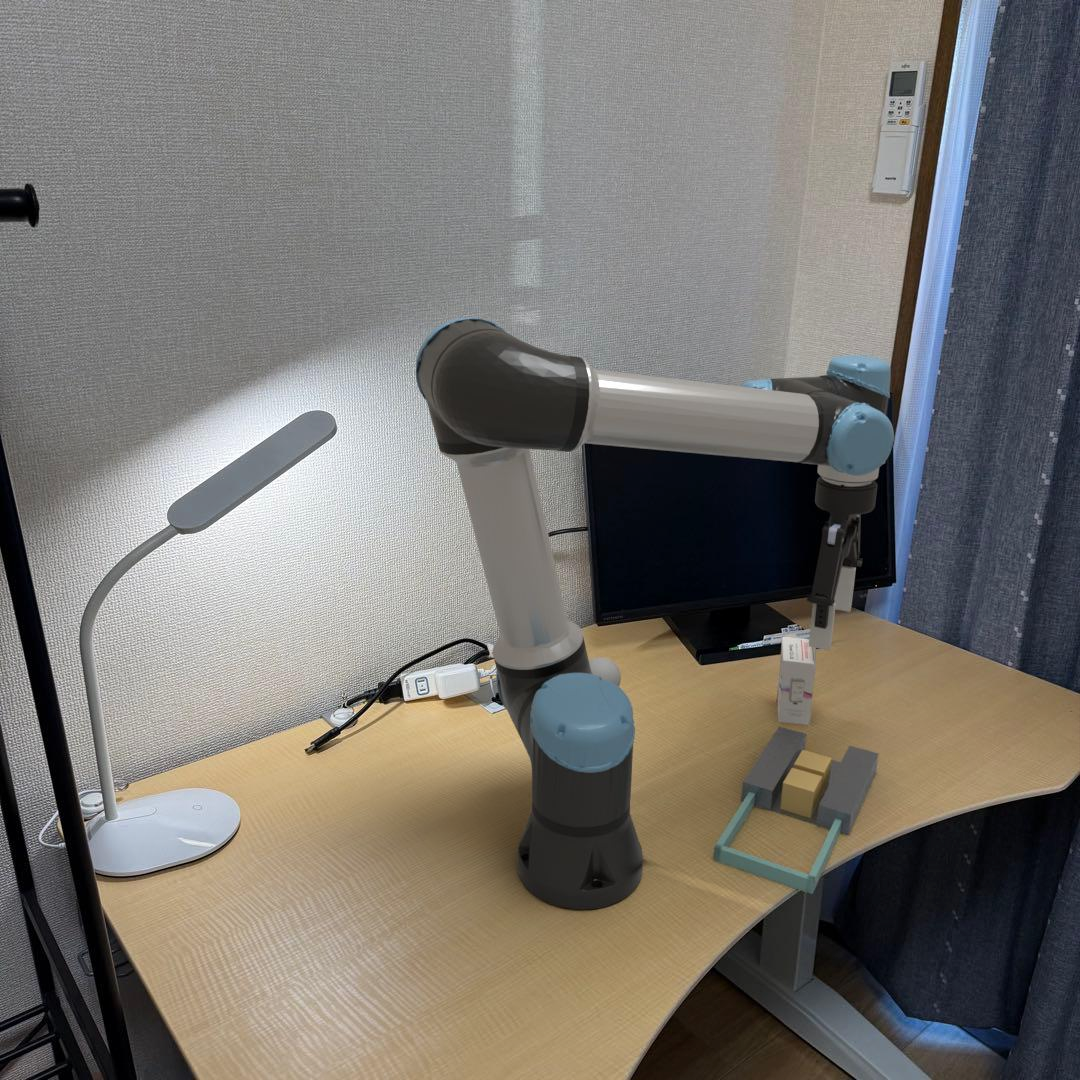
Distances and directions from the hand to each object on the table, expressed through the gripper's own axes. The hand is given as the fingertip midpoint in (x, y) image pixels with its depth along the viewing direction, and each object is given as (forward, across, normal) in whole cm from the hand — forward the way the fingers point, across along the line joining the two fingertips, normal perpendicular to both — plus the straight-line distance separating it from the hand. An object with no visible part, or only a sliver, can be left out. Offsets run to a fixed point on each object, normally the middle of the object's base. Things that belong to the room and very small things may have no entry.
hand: (830, 627), depth 131 cm
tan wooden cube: (+20, -14, -1) cm, 24 cm away
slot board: (+21, -9, -1) cm, 23 cm away
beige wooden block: (+20, -9, -1) cm, 22 cm away
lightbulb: (+21, -5, +32) cm, 39 cm away
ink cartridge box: (+21, +10, +6) cm, 24 cm away
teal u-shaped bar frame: (+21, -23, 0) cm, 31 cm away
